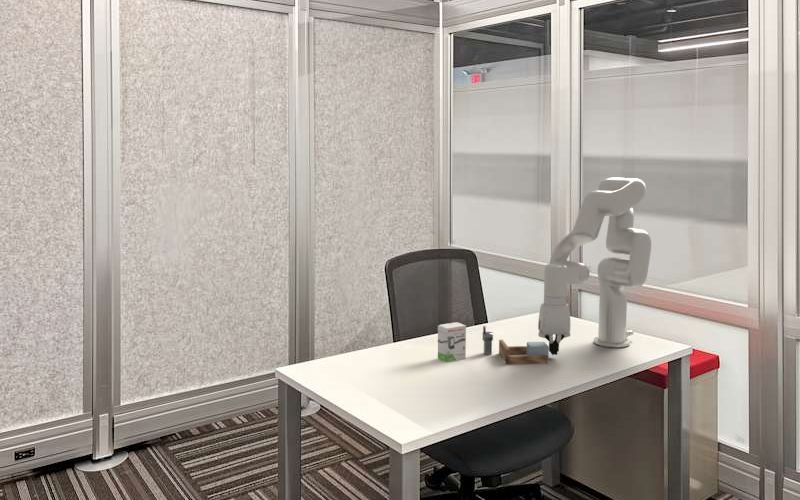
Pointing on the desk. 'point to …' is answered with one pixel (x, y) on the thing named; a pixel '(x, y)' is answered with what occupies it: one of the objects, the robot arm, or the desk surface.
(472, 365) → the desk surface
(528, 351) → the blue-grey cube
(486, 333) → the winch post
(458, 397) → the desk surface
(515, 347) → the bay
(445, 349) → the ink box
